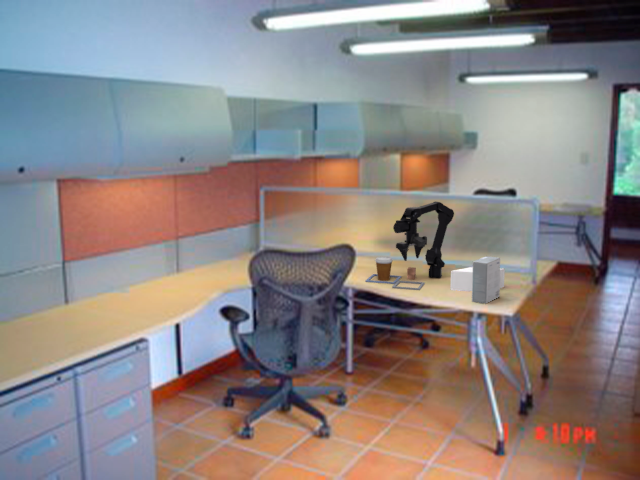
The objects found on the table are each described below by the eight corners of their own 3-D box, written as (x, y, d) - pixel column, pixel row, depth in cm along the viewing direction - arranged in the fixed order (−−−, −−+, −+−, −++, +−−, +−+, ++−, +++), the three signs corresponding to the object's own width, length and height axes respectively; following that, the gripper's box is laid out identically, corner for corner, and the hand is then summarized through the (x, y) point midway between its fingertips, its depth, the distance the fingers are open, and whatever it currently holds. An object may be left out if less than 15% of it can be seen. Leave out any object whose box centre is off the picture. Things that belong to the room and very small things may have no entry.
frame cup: (401, 277, 355) (401, 275, 355) (394, 284, 340) (394, 282, 340) (373, 275, 361) (373, 273, 361) (365, 281, 346) (365, 280, 345)
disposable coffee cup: (373, 281, 347) (373, 259, 345) (377, 277, 356) (377, 256, 354) (390, 282, 345) (390, 260, 342) (393, 278, 354) (394, 257, 351)
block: (415, 278, 353) (415, 267, 352) (414, 279, 350) (414, 269, 349) (408, 277, 355) (408, 267, 354) (407, 279, 351) (407, 268, 350)
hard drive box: (485, 295, 316) (486, 255, 313) (499, 297, 312) (501, 257, 308) (471, 301, 305) (472, 261, 301) (485, 304, 300) (487, 263, 296)
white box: (509, 291, 324) (510, 271, 322) (455, 293, 320) (455, 274, 318) (498, 284, 338) (499, 265, 336) (445, 286, 334) (446, 267, 332)
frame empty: (424, 283, 340) (424, 282, 340) (419, 290, 327) (419, 288, 327) (398, 281, 345) (398, 280, 345) (392, 288, 332) (392, 286, 331)
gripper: (410, 235, 329) (410, 264, 332) (434, 230, 341) (434, 259, 344) (395, 232, 338) (395, 261, 341) (419, 228, 349) (419, 256, 352)
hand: (411, 259), depth 344 cm, fingers open, 9 cm apart
